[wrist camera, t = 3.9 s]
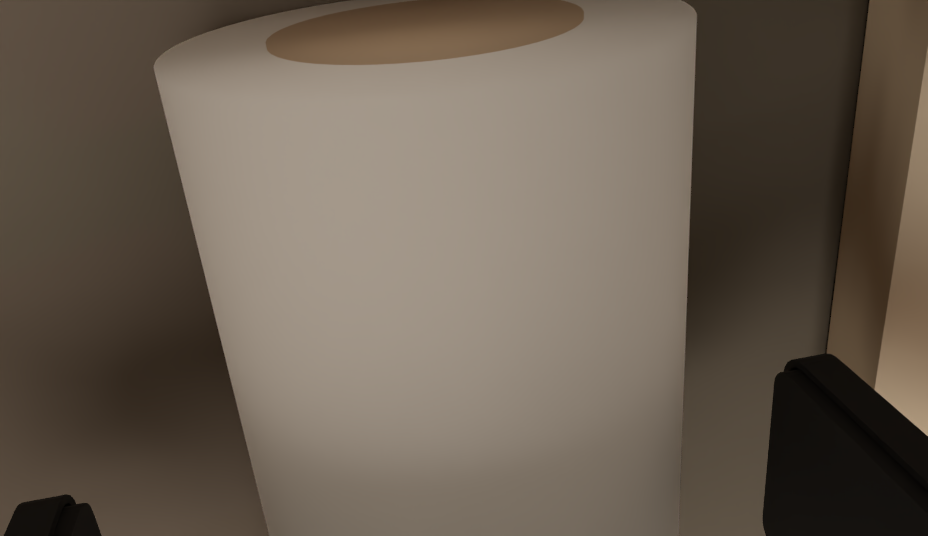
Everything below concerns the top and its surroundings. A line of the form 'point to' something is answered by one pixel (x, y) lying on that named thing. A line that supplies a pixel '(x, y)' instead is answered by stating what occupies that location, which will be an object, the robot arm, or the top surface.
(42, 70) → the top surface
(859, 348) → the roll cradle
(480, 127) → the paper roll
